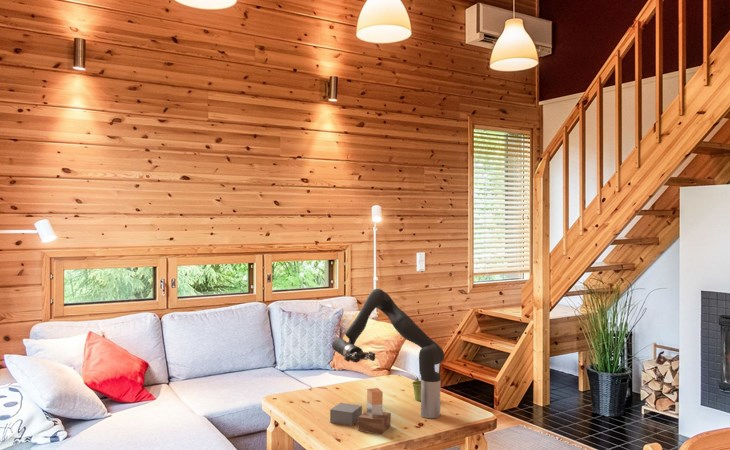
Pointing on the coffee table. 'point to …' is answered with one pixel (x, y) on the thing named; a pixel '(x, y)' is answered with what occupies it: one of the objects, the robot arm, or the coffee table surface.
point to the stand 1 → (345, 414)
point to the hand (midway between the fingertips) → (365, 359)
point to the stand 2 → (374, 423)
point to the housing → (374, 402)
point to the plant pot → (417, 390)
